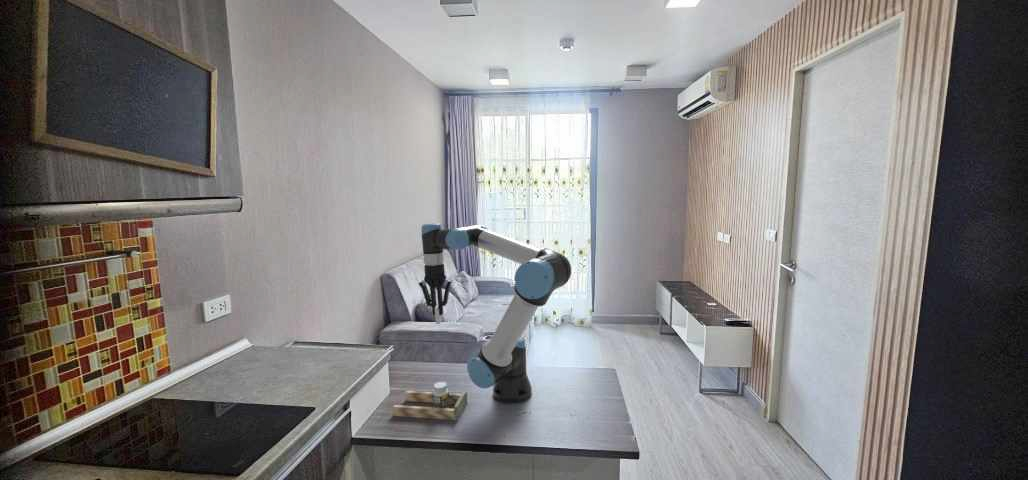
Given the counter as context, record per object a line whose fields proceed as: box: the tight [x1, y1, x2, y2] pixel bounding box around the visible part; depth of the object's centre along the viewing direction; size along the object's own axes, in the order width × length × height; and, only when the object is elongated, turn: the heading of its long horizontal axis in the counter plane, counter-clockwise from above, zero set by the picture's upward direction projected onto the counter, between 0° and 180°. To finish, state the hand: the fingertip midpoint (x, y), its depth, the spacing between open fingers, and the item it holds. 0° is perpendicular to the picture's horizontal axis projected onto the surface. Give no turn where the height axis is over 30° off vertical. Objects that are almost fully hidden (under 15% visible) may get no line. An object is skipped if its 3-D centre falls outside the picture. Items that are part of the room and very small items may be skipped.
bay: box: [392, 390, 468, 421], centre depth 147 cm, size 24×11×5 cm, turn 80°
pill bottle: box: [432, 381, 451, 409], centre depth 146 cm, size 6×6×10 cm
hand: (438, 322), depth 156 cm, fingers closed
